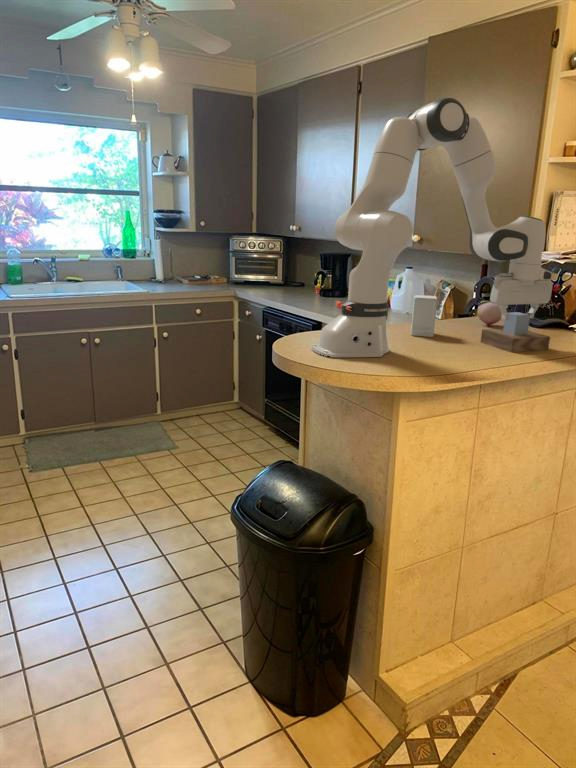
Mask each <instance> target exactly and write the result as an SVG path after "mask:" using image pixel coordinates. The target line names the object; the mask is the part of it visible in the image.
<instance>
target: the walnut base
mask: <svg viewBox="0 0 576 768" xmlns="http://www.w3.org/2000/svg"><path fill="white" fill-rule="evenodd" d="M550 341H551V336H549V335H544V334H542V333H538V332H534V331H532V330H531V331H530V330H528V333H527V334H525V335H512V334H509V333H505V332H503V328H487V329H482V330H481V335H480V343H482V344H486V345H489V346H491V347H494V348H497V349H499V350H500V349H501V350H502V351H503V350H504V351H506V352H509V353H517V352H518V353H519V352H520V353H521V352H534V351H548V350H549V347H550V346H549V345H550Z"/></svg>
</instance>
